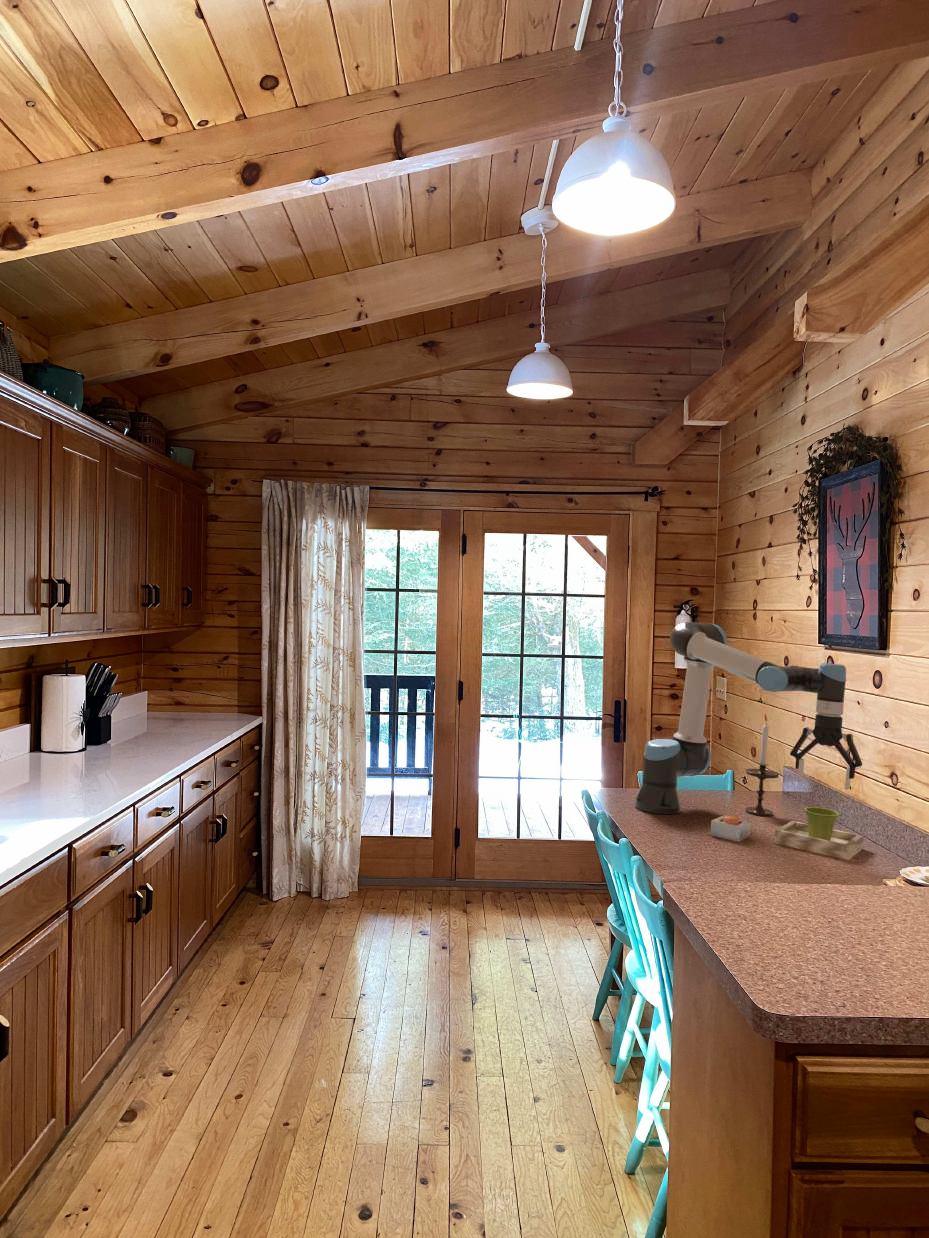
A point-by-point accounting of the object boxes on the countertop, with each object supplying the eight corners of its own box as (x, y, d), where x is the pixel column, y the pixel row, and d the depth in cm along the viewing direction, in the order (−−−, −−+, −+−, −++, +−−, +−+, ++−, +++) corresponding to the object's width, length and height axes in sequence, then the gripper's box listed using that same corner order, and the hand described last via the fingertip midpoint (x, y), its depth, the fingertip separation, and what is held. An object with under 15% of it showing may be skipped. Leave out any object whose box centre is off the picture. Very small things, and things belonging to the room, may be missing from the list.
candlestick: (746, 815, 287) (754, 713, 287) (739, 807, 298) (747, 709, 297) (779, 818, 286) (787, 716, 285) (771, 810, 297) (779, 712, 296)
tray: (774, 843, 254) (775, 829, 254) (791, 833, 267) (792, 820, 267) (848, 860, 241) (849, 846, 241) (862, 848, 255) (863, 835, 255)
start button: (719, 826, 258) (720, 817, 258) (725, 824, 262) (726, 814, 262) (735, 830, 255) (736, 820, 255) (741, 827, 259) (742, 818, 259)
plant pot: (839, 845, 249) (841, 816, 249) (805, 841, 251) (808, 812, 250) (832, 837, 258) (834, 809, 258) (799, 833, 260) (802, 805, 260)
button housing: (710, 835, 258) (711, 820, 258) (720, 829, 265) (722, 815, 265) (739, 841, 253) (740, 827, 252) (749, 836, 260) (750, 822, 260)
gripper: (783, 709, 258) (777, 778, 259) (871, 721, 243) (864, 794, 243) (790, 708, 264) (785, 775, 265) (876, 719, 249) (870, 790, 249)
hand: (823, 784), depth 254 cm, fingers open, 13 cm apart
